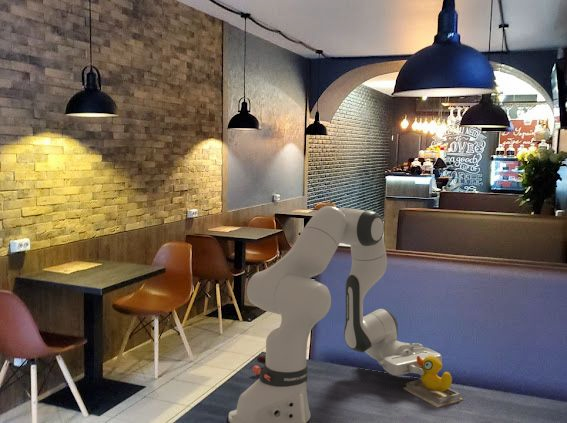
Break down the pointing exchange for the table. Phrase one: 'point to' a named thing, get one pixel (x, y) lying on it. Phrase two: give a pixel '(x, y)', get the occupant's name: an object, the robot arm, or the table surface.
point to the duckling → (434, 374)
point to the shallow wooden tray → (432, 394)
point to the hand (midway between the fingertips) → (430, 370)
